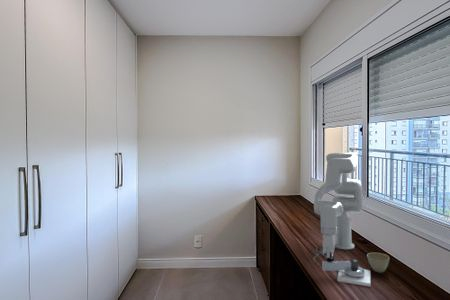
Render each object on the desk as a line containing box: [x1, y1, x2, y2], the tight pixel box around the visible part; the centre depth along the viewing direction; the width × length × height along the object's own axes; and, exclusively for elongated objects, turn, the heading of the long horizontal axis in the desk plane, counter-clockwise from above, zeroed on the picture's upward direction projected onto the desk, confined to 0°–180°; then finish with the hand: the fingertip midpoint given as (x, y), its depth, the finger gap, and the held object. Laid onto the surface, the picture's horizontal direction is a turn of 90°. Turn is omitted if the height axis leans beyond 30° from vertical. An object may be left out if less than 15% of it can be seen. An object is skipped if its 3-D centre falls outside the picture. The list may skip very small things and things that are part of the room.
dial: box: [321, 258, 365, 278], centre depth 139 cm, size 20×9×6 cm, turn 87°
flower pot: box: [366, 252, 390, 273], centre depth 144 cm, size 10×10×7 cm
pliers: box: [312, 247, 327, 263], centre depth 165 cm, size 10×1×20 cm
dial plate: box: [336, 268, 371, 287], centre depth 138 cm, size 14×14×2 cm
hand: (330, 265), depth 142 cm, fingers closed
